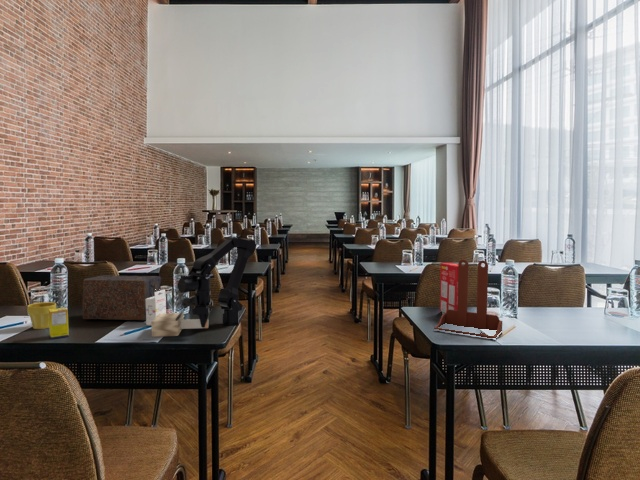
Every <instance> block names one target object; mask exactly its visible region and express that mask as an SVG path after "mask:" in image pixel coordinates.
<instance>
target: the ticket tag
mask: <svg viewBox="0 0 640 480" xmlns="http://www.w3.org/2000/svg"><path fill="white" fill-rule="evenodd" d="M181 329H182V330H184V329H187V330H188V329H189V330H190V329H191V330H192V329H209V318H208V319H207V322H206V324H205V327H202V326H201V323H200V319H199V318H191V319H189V318H187V319H185V318H184V319H183V320H181Z"/></svg>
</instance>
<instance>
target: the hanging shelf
mask: <svg viewBox="0 0 640 480" xmlns="http://www.w3.org/2000/svg"><path fill="white" fill-rule="evenodd" d="M463 263H464V264H463ZM457 264H458V303H457V310H448V311H447V313H444V314H442V315H441V316H440V319H439V321H438V323H437V325H436V326H434V328H433V330H434V329H439V330H445V331H451V332H456V333H463V334H470V335H476V336H481V337H487V338H496V337H497V335H498V334H499V333H500V332H501V331H502V332H503V320H500V317H499V316H498V315H497V314H495V315H494V314H489V313H488V292H489V291H488V284H489V281H488V280H489V263H488V262H487V261H486V260H480V261H479V262H478V264H477V278H476V279H477V281H476V282H477V283H476V312H471V311H468V301H469V299H468V297H469V296H468V293H469V261H468V260H467V259H464V258H463V259H460V260H459V261H458V262H457ZM482 264H483V265H484V266H482ZM445 323H447V324H453V325H457V326H464V327H474V328H478V329H489V330H497V331H496V334H495V335H494V336H488V335H486V334H485V333H482V332H481V333H482V334H481V333H480V334H475V333H469V332H462V331H455V330H449V329H442V328H438V327H440V326H441V325H443V324H445Z"/></svg>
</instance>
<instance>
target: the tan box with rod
mask: <svg viewBox="0 0 640 480" xmlns="http://www.w3.org/2000/svg"><path fill="white" fill-rule="evenodd" d="M183 319H185V318H184V310H181V311H180V312H173V313H171V312H170V313H169V312H168V313H167V312H166V314H158V315H157V317H156V318H155V319H154V320H153V321H152V325H151V337H154V338H155V337H177V336H179V335H180V334H181V332H182V331H183V329H181V320H183Z"/></svg>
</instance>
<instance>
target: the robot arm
mask: <svg viewBox="0 0 640 480" xmlns="http://www.w3.org/2000/svg"><path fill="white" fill-rule="evenodd" d="M234 248H236V249H235V250H236V255H237V256H236V259H235V262H234V265H233V268H232V270H231V274H230V276H229V279H228V282H227V285H226V286H225V287H224V288H220V290H219V293H218V295H217V302H218V304H219V306H220V310H223V312H222V323H223V326H239V324H240V320H239V319H240V317H239V316H240V314H239V313H240V311H242V310H243V304H242V303H241V302H240V301H239V298H240V297H239V287H240V284H241V280H242V278H243V275H244V272H245V269H246V267H247V263H248V260H249V259H250V258H251V257H252V256H253V255H254V253H255V252H256V249H257V243H256V241H255V240H254V239H253V238H252V239H251V238H239V237H236V236H228V237H227V238H226V239H225V240H224V241H223V242H222V243H220V244H219V245H218V246H217V247H216V248H215V249H213V250H212V251H211V252H209V253H208V254H206V255H203V256H201V257H199V258H197V259H196V260H195V261H194V262H193V265H192V267H191V269H190V271H189V272H188V274H187V275H184V274H183V275H180V278H179V280H178V282H177V289H178V292H180V293H181V294H183V293H190V292H195V293H194V295H192V296H190V297H188V296H187V297H184V298H183V299H182V300H181V301H180V302H181V306H182V307H183V309H187V308H188V307H191V306H193V305H194V307H193V309H192V313H191V314H192V315H193V316H194V315H197V316H198V319H200V323H201V326H202V327H205V324H206V322H207V319H208V320H209V316H210V314H211V311H212V307H213V306H214V301H213V299H212V298H211V295H212V294H211V293H212V291H211V279H214V278H216V276H214V275H213V273H212V271H213V270H214V269H215V268H216V266H217V264H218V262H219V261H220V260H222V259H223V258H224V257H225V256H226V255H227V254H228V253H230V252H231V251H232V250H233V249H234ZM210 306H211V307H210Z"/></svg>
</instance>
